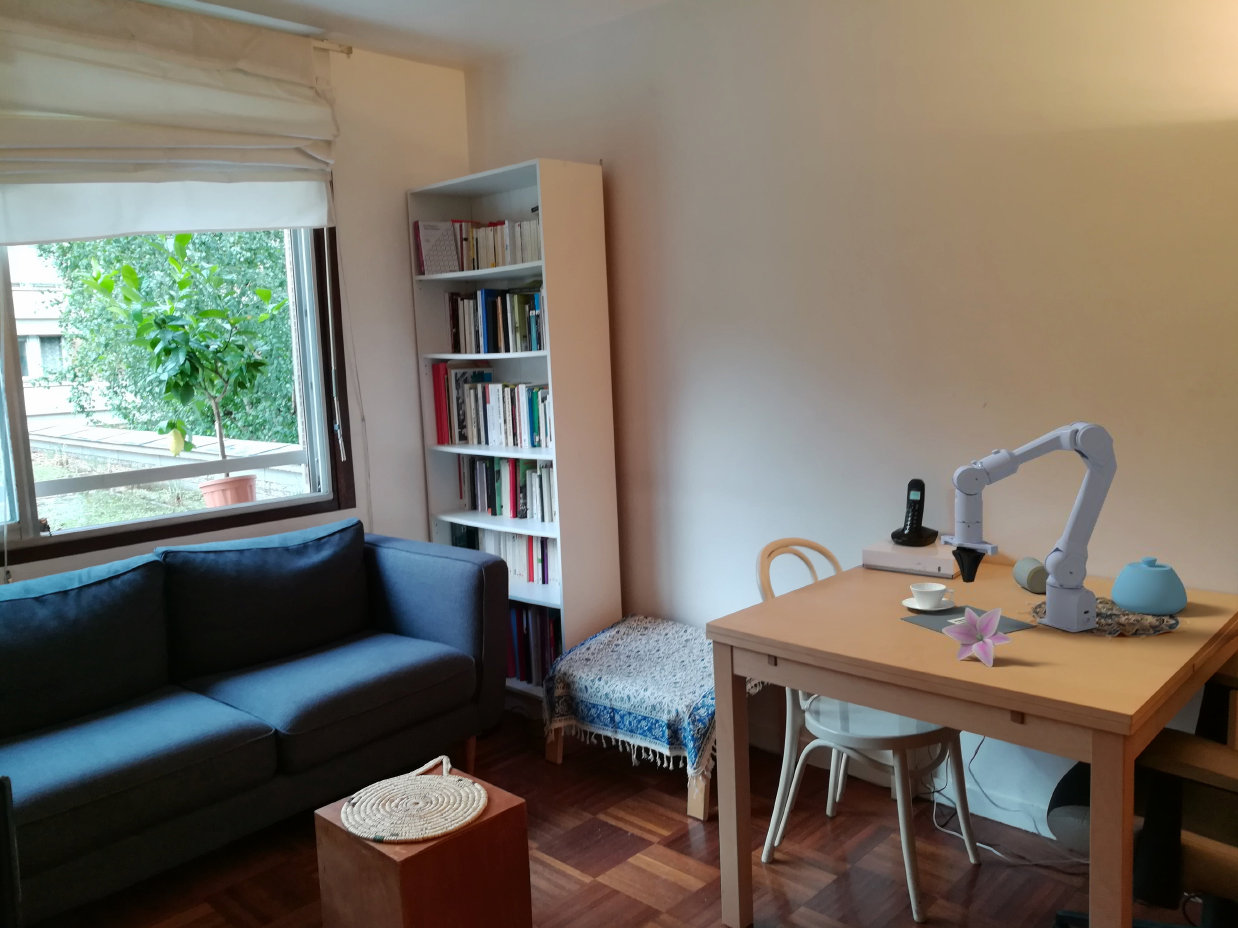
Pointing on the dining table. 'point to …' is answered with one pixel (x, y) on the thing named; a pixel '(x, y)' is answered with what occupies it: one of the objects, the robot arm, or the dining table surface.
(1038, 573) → the ceramic mug
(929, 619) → the label mat
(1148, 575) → the sugar bowl
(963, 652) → the lily
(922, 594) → the teacup
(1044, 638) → the dining table surface
